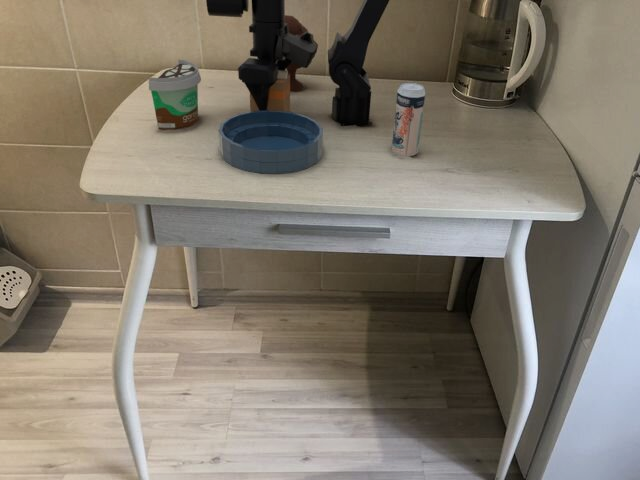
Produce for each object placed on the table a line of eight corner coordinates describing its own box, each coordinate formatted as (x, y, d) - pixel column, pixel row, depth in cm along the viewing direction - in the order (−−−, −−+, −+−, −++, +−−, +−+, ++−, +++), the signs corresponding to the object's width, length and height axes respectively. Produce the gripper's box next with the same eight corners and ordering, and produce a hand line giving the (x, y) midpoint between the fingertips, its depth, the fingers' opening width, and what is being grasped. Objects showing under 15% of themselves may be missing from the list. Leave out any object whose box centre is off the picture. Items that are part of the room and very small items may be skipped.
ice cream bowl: (315, 97, 127) (317, 23, 118) (262, 93, 126) (260, 19, 118) (318, 81, 135) (320, 10, 127) (269, 77, 135) (268, 6, 126)
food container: (187, 139, 105) (181, 83, 99) (155, 134, 106) (147, 78, 100) (215, 114, 115) (211, 62, 109) (185, 110, 116) (179, 58, 110)
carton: (258, 110, 118) (256, 64, 113) (290, 114, 118) (290, 67, 112) (250, 120, 114) (248, 72, 109) (284, 124, 114) (283, 76, 108)
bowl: (304, 130, 112) (305, 107, 109) (335, 170, 99) (337, 145, 97) (212, 138, 106) (210, 114, 104) (232, 182, 93) (231, 155, 91)
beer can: (386, 148, 108) (393, 82, 101) (410, 145, 109) (418, 80, 102) (398, 159, 104) (406, 92, 97) (422, 156, 106) (431, 90, 99)
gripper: (301, 37, 97) (300, 127, 106) (323, 12, 112) (320, 93, 121) (235, 29, 98) (239, 120, 107) (265, 5, 113) (267, 87, 122)
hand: (270, 104), depth 114 cm, fingers open, 9 cm apart
